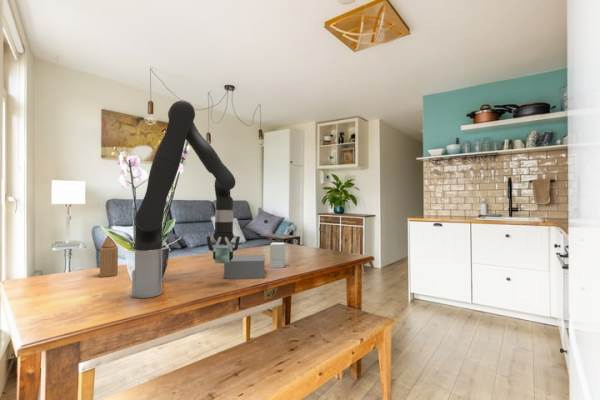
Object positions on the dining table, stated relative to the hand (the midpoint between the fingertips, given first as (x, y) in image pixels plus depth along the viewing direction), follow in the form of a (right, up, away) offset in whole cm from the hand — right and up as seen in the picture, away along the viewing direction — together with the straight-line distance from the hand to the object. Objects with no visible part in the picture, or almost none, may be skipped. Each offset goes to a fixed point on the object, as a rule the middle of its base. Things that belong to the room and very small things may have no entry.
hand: (223, 260), depth 127 cm
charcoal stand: (+7, -10, +17) cm, 21 cm away
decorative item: (-58, -10, +14) cm, 60 cm away
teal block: (0, -1, 0) cm, 1 cm away
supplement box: (+21, -11, +34) cm, 42 cm away
